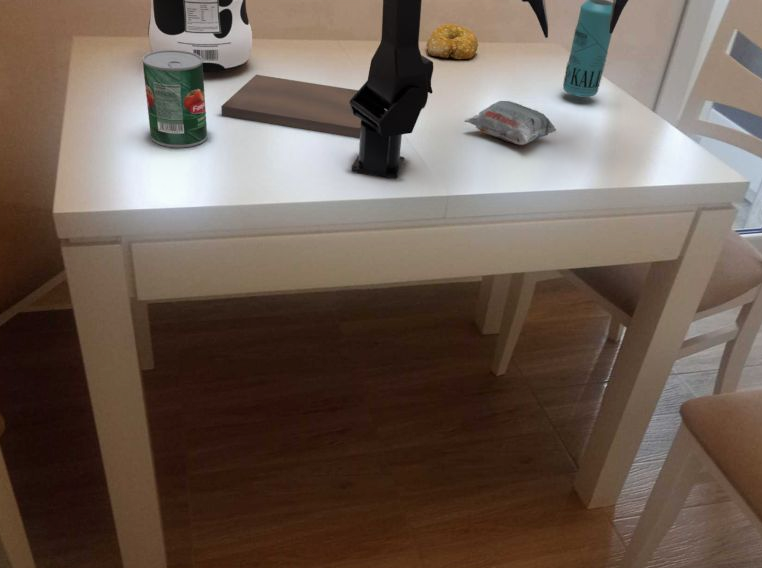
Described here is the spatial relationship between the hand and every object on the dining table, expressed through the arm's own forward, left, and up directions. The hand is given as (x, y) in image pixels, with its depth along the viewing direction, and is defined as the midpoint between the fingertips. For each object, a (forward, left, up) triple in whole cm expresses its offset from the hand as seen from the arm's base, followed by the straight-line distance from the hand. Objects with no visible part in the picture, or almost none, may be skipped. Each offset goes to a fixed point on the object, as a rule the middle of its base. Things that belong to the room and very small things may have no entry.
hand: (578, 34), depth 114 cm
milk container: (+8, +62, -16) cm, 65 cm away
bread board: (-5, +40, -16) cm, 43 cm away
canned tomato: (-23, +53, -16) cm, 60 cm away
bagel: (+37, +22, -16) cm, 46 cm away
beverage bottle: (+20, -4, -16) cm, 26 cm away
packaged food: (-4, +7, -16) cm, 18 cm away
